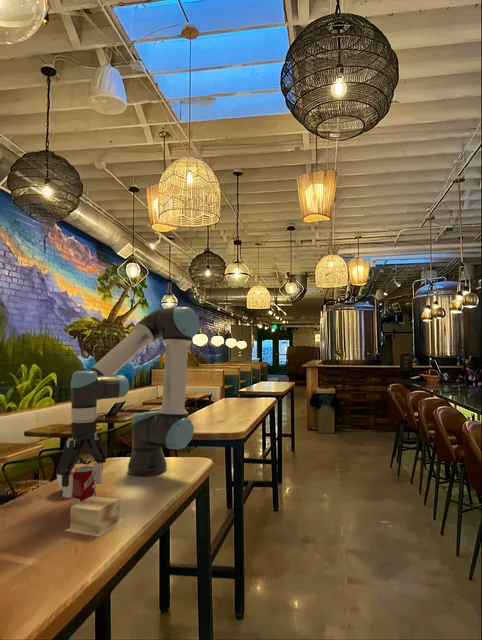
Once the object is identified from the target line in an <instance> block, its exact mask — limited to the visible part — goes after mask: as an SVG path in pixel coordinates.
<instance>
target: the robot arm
mask: <svg viewBox="0 0 482 640" xmlns="http://www.w3.org/2000/svg"><path fill="white" fill-rule="evenodd" d="M199 330H200V320H199V317H198V315H197V313H196V312H195V310H193V308H191V307H188V306H176V307H175V306H174V307H167V308H164V307H163V308H158V309H155V310H153V311H151V312H150V313H148V314H147V315H145V316H144V317H143V318H142V319H141V320H140V321H138V322H137V323H136V324H135V325H134V327H133V330H132V331H131V332H130V333H129V334H127V336H125V337H124V338H123V339H122V340H121V341H120V342H119V343H117V344H116V345H115V346H114V347H113V348H112V349H111V350H109V352H107V353H106V354H105V355H104V356H103V357H102V358H100V360H99V361H97V362H96V363H95V364H94V365H93V366H91V368H89V369H88V370H85V371H84V370H80V371H79V370H78V371H74V372H73V373H72V375H71V380H70V389H71V401H70V402H71V411H70V412H71V414H70V415H71V421H72V422H71V423H70V434H71V435H72V436H73V437H72V440H70V439H66V440H65V441H64V448H63V451H62V454H61V457H60V460H59V463H58V466H57V468H56V473H55V474H56V475H57V474H59V475H62V486H63V490H62V497H63V498H67V499H68V498H69V499H71V498H73V493H72V475H71V474H70V473H71V471H72V469H73V467H74V465H75V464H77V461H78V459H79V457H80V456H81V455H82V454H83V453H84V452H86V451H88V453H89V454H90V455H91V457H92V458H93V460H94V461H95V462H93V470H94V471H95V473H96V485H101V484H102V485H103V483H102V481H103V471H104V470H103V467H104V466H103V463H104V464H105V463H106V462H107V459H108V455H107V452H106V448H105V446H104V442H103V440H102V433H101V432H97V421H96V419H97V418H98V414H97V413H98V409H97V408H98V401H99V400H107V399H108V400H109V399H111V400H112V399H118V398H123V397H125V396H127V395H128V393H129V390H130V383H129V380H128V378H127V377H126V376H125V375H122V374H121V375H120V374H119V375H118V374H117V373H118V372H119V371H120V370H121V369H122V368H123V367H124V366H125V365H127V363H128V362H130V361H131V360H132V359H133V358H134V357H135V356H136V355H137V354H138V353H139V352H140V351H141V350H142V349H143V348H144V347H146V346H147V345H151V344H152V343H153V342H155V341H156V340H158V339H161V338H162V339H161V341H162V342H163V343H164V344H165V354H164V370H163V387H162V402H161V403H162V404H161V408H160V409H159V410H151V411H145V412H144V411H143V412H140V413H135V414H133V415H132V420H131V445H132V446H131V449H132V450H131V455H130V458H129V461H128V465H127V474H130V475H131V476H136V477H137V476H138V477H140V476H141V477H147V476H148V477H149V476H154V475H159V474H162V473H164V472H166V471H167V469H168V468H167V467H168V465H167V461H166V457H165V454H164V452H163V448H166V449H168V450H169V449H170V450H181V449H184V448H186V446H188V444H189V443H190V442H191V440H192V439H193V435H194V429H195V428H194V424H193V422H192V420H191V419H189V412H188V411H187V410H186V408H185V404H186V386H187V385H186V384H187V372H188V371H187V370H188V368H187V367H188V353H189V352H188V351H189V350H188V349H189V345H191V343H193V337H194V336H196V335H197V333H198V332H199ZM66 470H67V471H66Z"/></svg>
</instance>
